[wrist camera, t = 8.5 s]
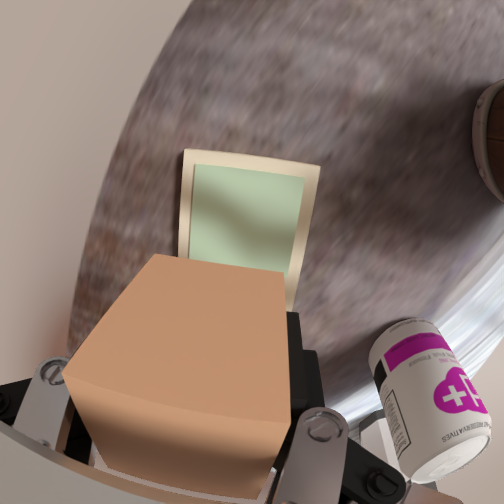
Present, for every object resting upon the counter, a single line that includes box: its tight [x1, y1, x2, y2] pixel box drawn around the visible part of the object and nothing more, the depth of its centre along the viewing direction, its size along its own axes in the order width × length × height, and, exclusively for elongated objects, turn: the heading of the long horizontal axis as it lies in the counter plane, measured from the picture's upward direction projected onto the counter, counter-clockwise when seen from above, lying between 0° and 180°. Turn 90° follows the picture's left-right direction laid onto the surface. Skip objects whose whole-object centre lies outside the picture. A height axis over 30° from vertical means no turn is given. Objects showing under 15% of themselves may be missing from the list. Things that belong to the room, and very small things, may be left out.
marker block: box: [61, 254, 291, 499], centre depth 8 cm, size 4×4×6 cm
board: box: [178, 148, 320, 312], centre depth 25 cm, size 20×10×1 cm, turn 173°
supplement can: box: [368, 318, 492, 484], centre depth 21 cm, size 8×8×15 cm
